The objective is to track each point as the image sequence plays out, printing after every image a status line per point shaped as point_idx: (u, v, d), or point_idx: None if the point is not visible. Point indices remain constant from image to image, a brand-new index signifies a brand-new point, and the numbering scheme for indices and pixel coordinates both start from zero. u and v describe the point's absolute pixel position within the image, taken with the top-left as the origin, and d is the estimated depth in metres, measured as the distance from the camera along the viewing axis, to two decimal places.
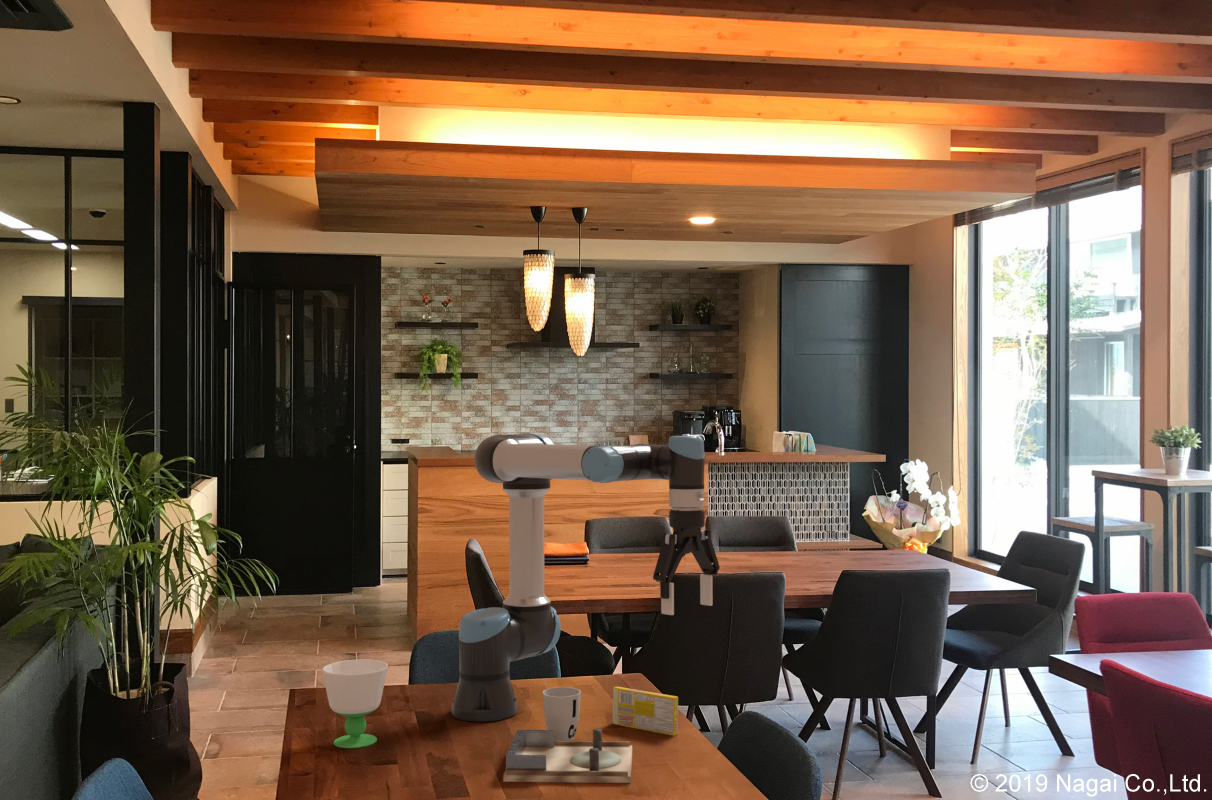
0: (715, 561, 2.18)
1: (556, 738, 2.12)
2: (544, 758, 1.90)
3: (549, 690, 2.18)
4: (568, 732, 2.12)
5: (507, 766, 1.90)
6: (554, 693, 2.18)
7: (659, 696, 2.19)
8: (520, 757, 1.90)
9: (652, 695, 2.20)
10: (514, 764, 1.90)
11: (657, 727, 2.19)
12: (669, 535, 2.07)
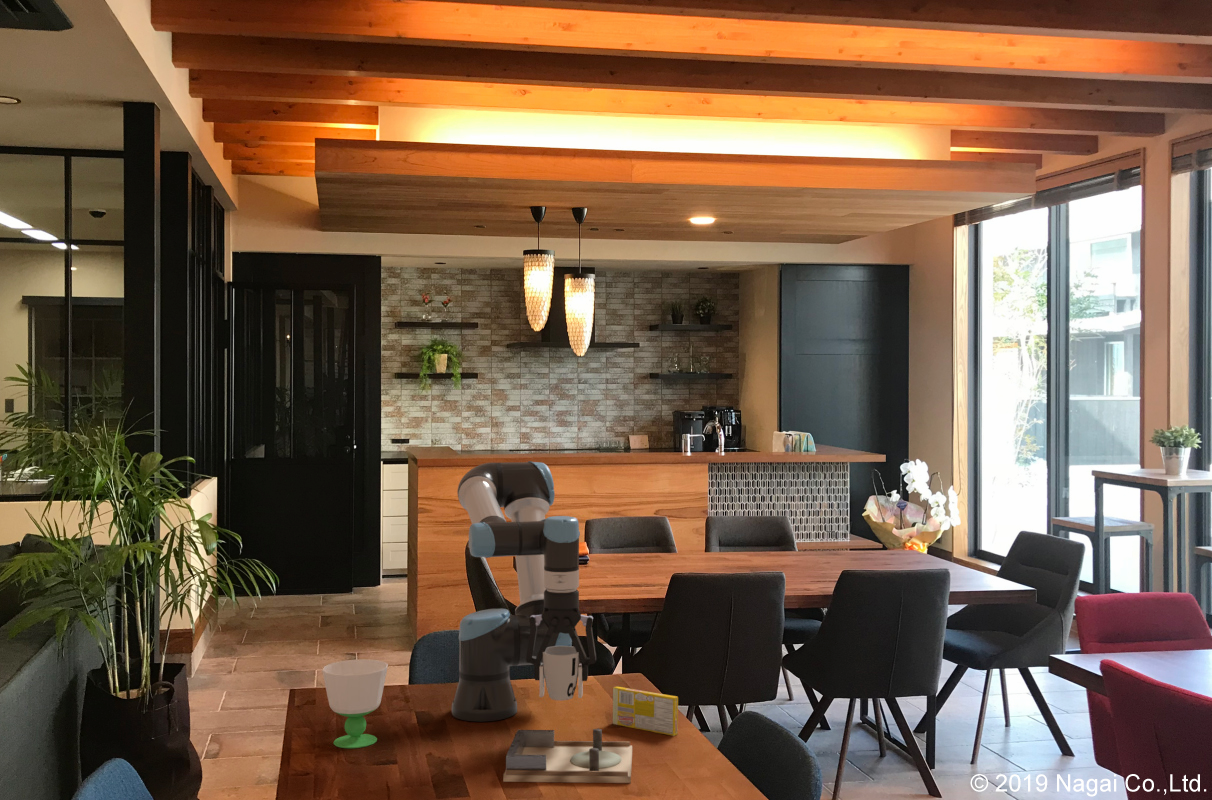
0: (590, 653, 2.14)
1: (555, 696, 2.13)
2: (544, 758, 1.90)
3: (548, 649, 2.18)
4: (568, 690, 2.13)
5: (507, 766, 1.90)
6: (554, 652, 2.19)
7: (659, 696, 2.19)
8: (520, 757, 1.90)
9: (652, 695, 2.20)
10: (514, 764, 1.90)
11: (657, 727, 2.19)
12: (530, 617, 2.15)
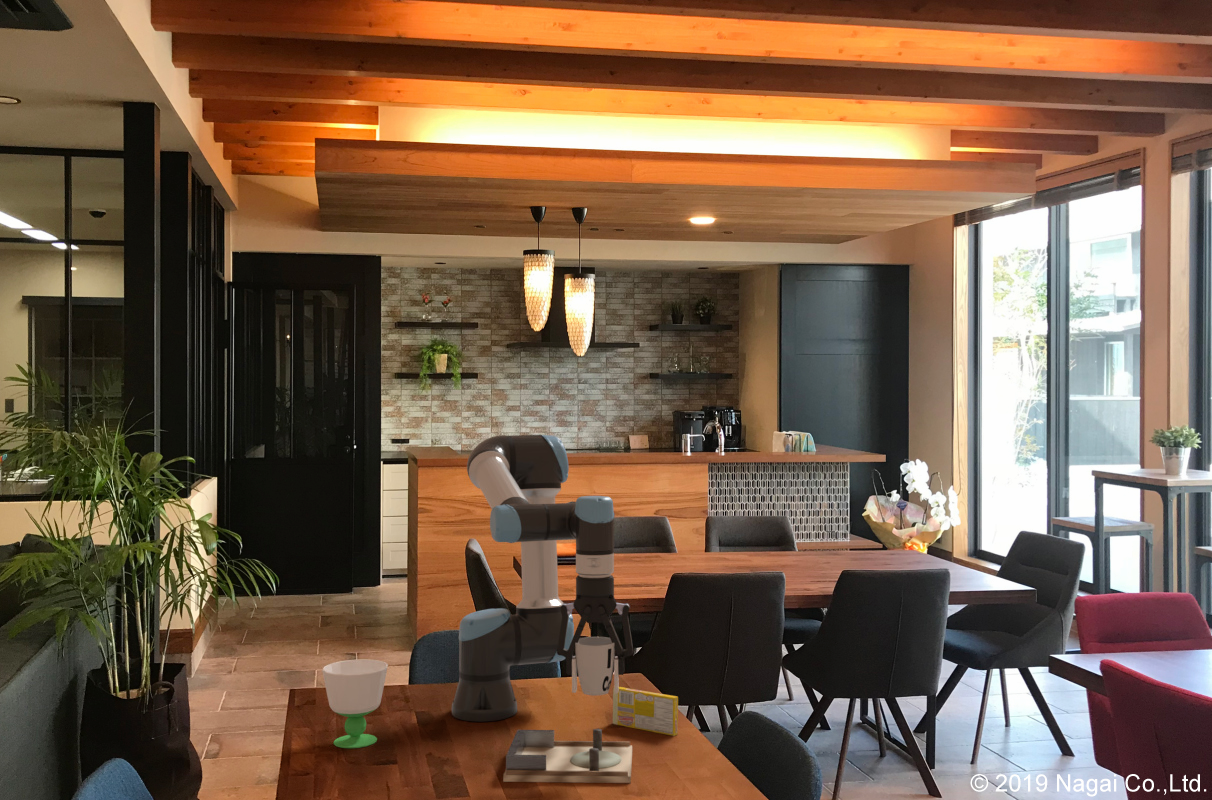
0: (627, 644, 1.97)
1: (589, 691, 1.96)
2: (544, 758, 1.90)
3: (581, 640, 2.01)
4: (603, 684, 1.95)
5: (507, 766, 1.90)
6: (586, 644, 2.02)
7: (659, 696, 2.19)
8: (520, 757, 1.90)
9: (652, 695, 2.20)
10: (514, 764, 1.90)
11: (657, 727, 2.19)
12: (561, 605, 1.98)
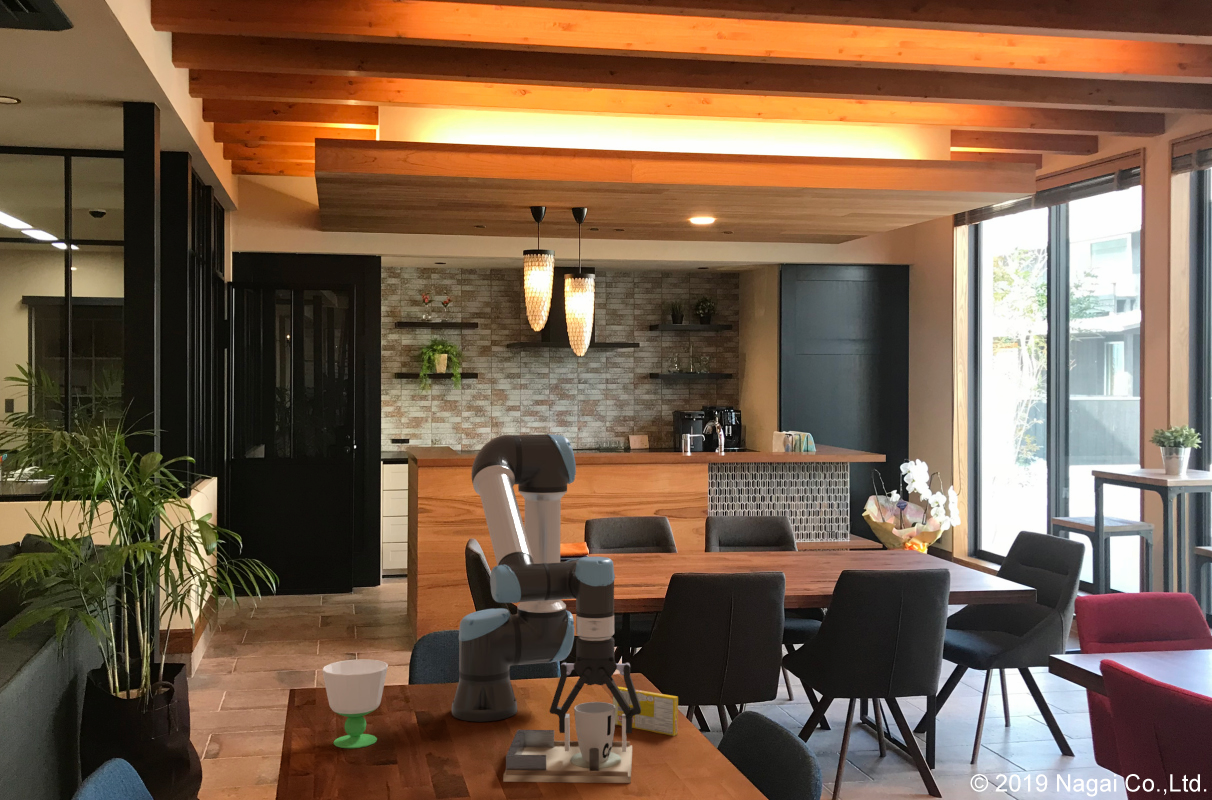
0: (634, 703, 1.97)
1: None
2: (544, 758, 1.90)
3: (580, 706, 2.01)
4: (603, 752, 1.95)
5: (507, 766, 1.90)
6: (586, 709, 2.02)
7: (659, 696, 2.19)
8: (520, 757, 1.90)
9: (652, 695, 2.20)
10: (514, 764, 1.90)
11: (657, 727, 2.19)
12: (561, 664, 1.98)
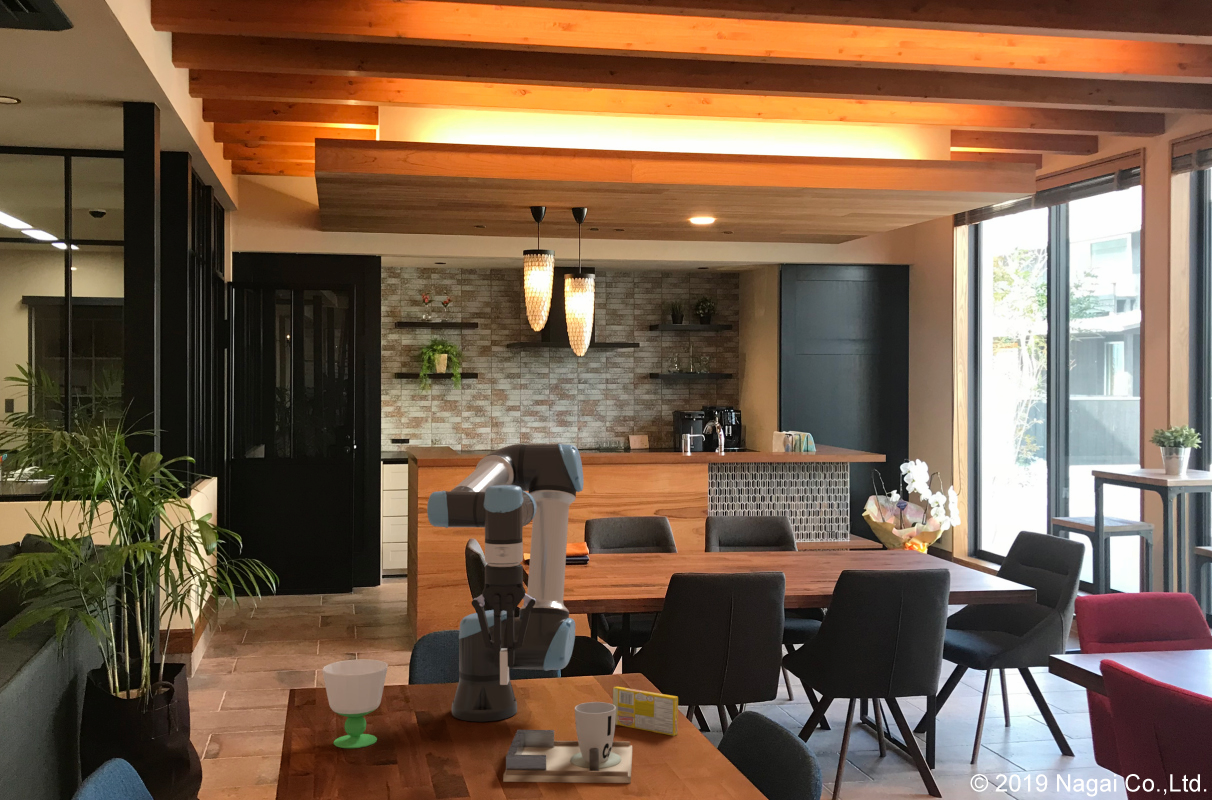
0: (520, 635, 1.98)
1: None
2: (544, 758, 1.90)
3: (581, 706, 2.01)
4: (603, 752, 1.95)
5: (507, 766, 1.90)
6: (587, 709, 2.02)
7: (659, 696, 2.19)
8: (520, 757, 1.90)
9: (652, 695, 2.20)
10: (514, 764, 1.90)
11: (657, 727, 2.19)
12: (472, 601, 1.99)
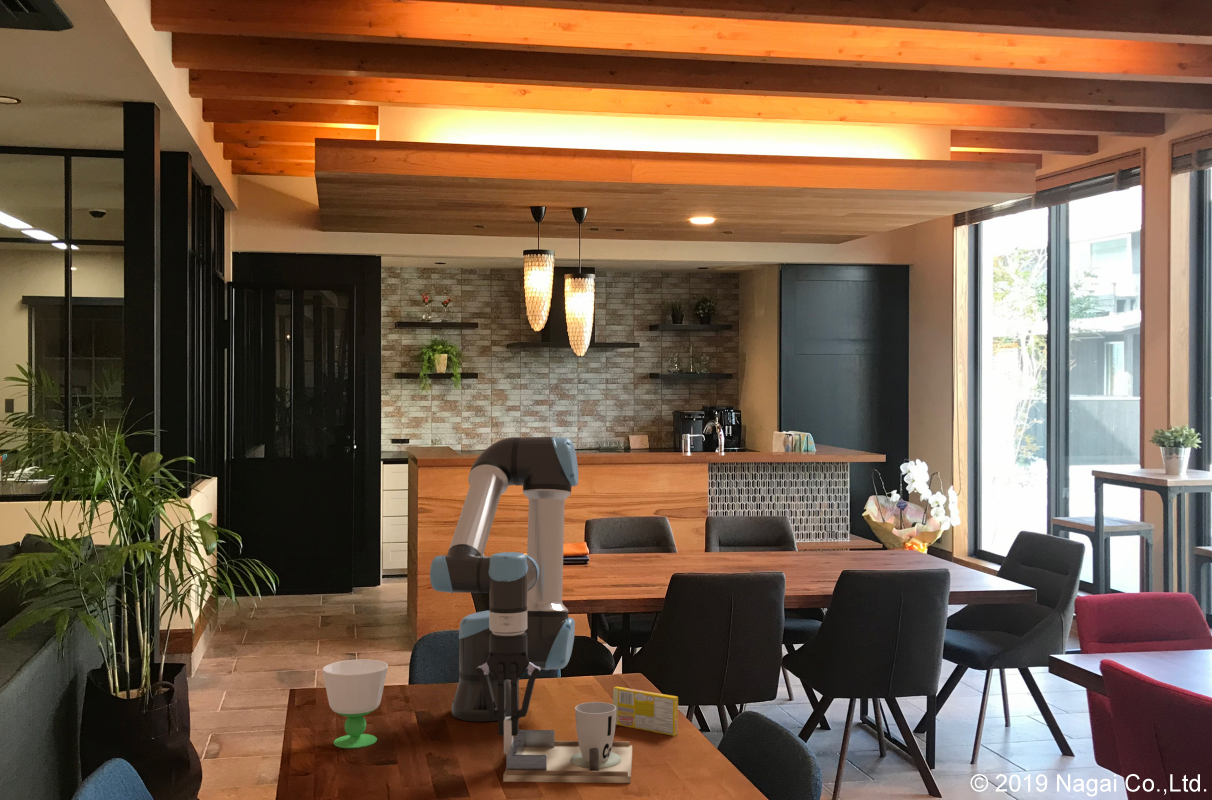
0: (524, 705, 1.97)
1: None
2: (544, 758, 1.90)
3: (581, 706, 2.01)
4: (603, 752, 1.95)
5: (507, 766, 1.90)
6: (587, 709, 2.02)
7: (659, 696, 2.19)
8: (520, 757, 1.90)
9: (652, 695, 2.20)
10: (514, 764, 1.90)
11: (657, 727, 2.19)
12: None
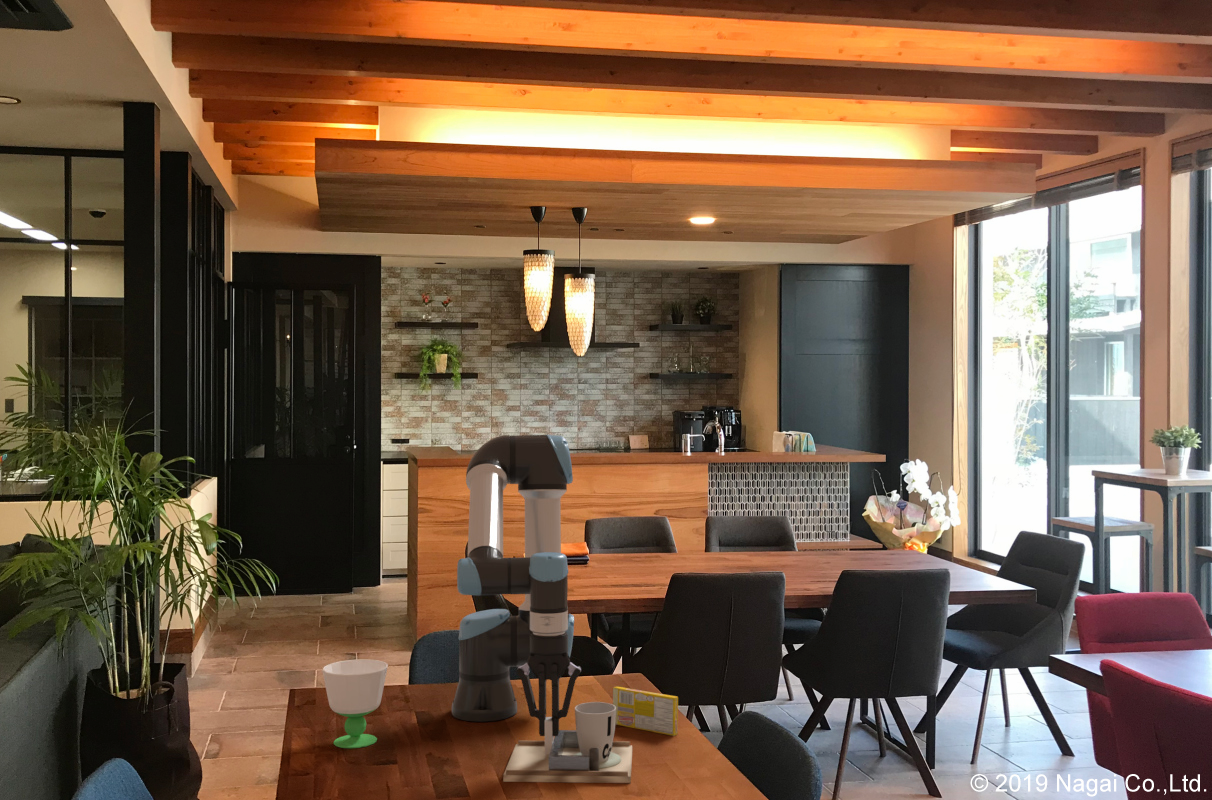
0: (565, 705, 1.97)
1: None
2: (587, 758, 1.90)
3: (581, 706, 2.01)
4: (603, 752, 1.95)
5: (550, 766, 1.90)
6: (587, 709, 2.02)
7: (659, 696, 2.19)
8: (563, 757, 1.90)
9: (652, 695, 2.20)
10: (557, 764, 1.90)
11: (657, 727, 2.19)
12: (517, 670, 1.98)
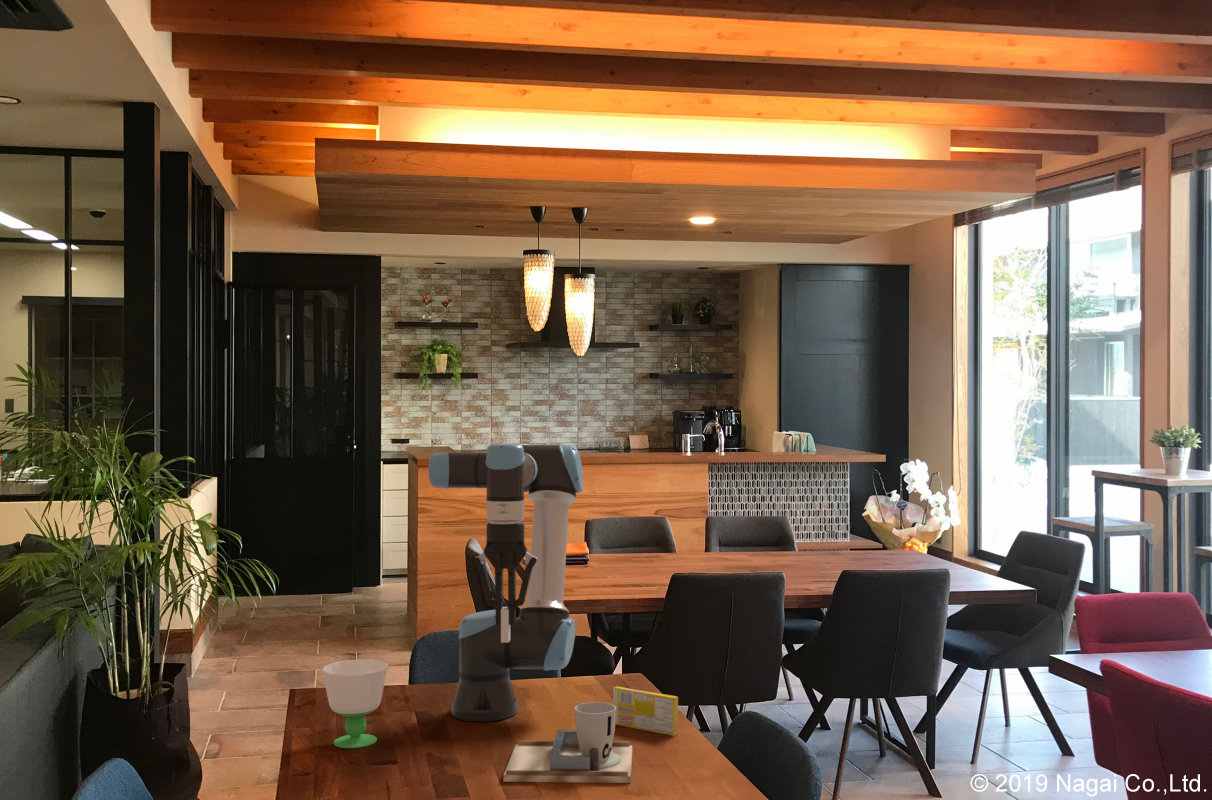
0: (521, 593, 1.98)
1: None
2: (588, 758, 1.90)
3: (581, 706, 2.01)
4: (603, 752, 1.95)
5: (551, 766, 1.90)
6: (587, 709, 2.02)
7: (659, 696, 2.19)
8: (564, 757, 1.90)
9: (652, 695, 2.20)
10: (558, 764, 1.90)
11: (657, 727, 2.19)
12: None
